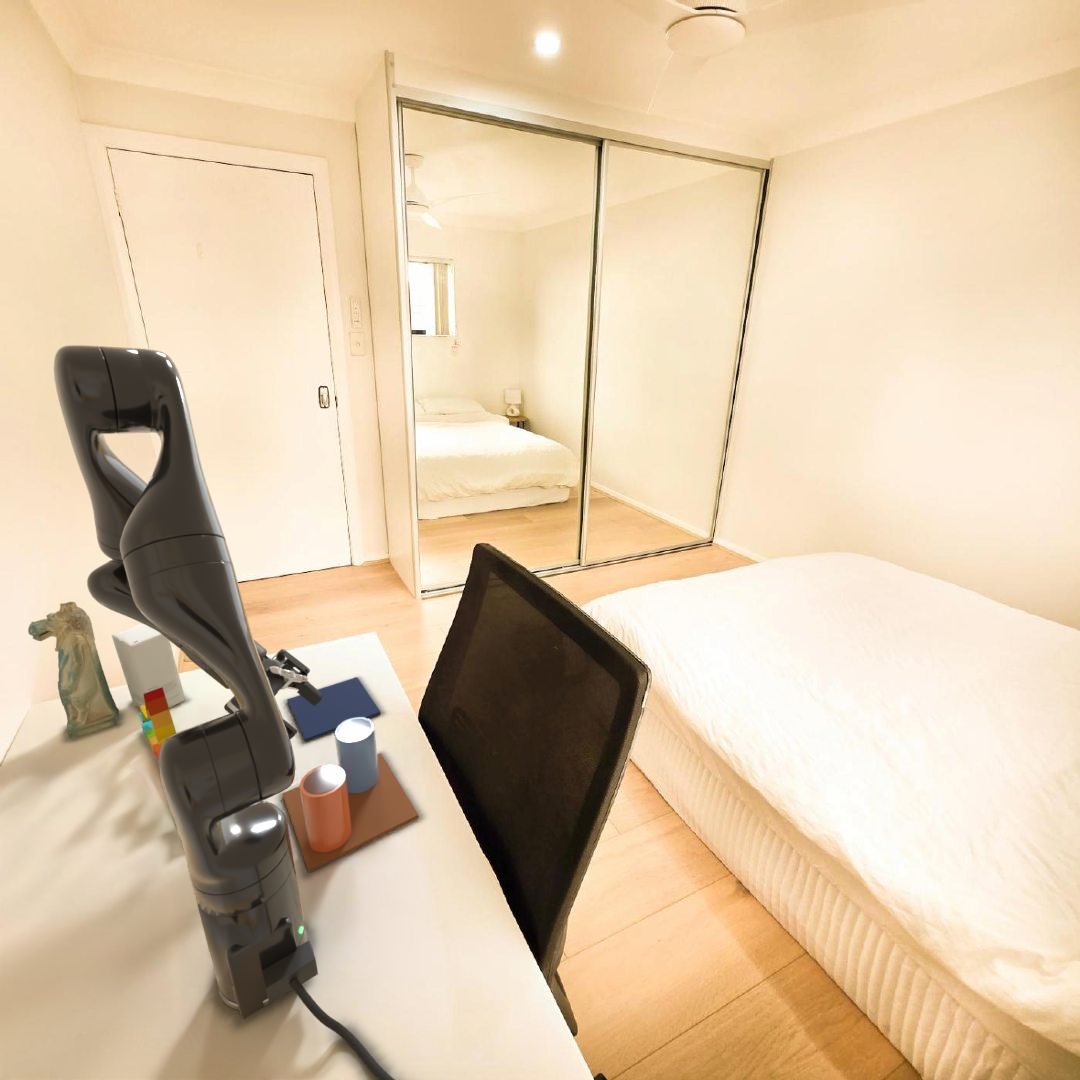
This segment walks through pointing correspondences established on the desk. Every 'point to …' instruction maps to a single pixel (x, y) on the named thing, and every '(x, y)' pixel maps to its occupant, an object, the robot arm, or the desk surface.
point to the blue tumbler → (357, 753)
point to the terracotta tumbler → (326, 808)
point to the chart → (156, 719)
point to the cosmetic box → (148, 664)
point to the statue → (78, 670)
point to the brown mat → (358, 816)
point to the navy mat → (332, 708)
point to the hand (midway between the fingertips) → (306, 718)
